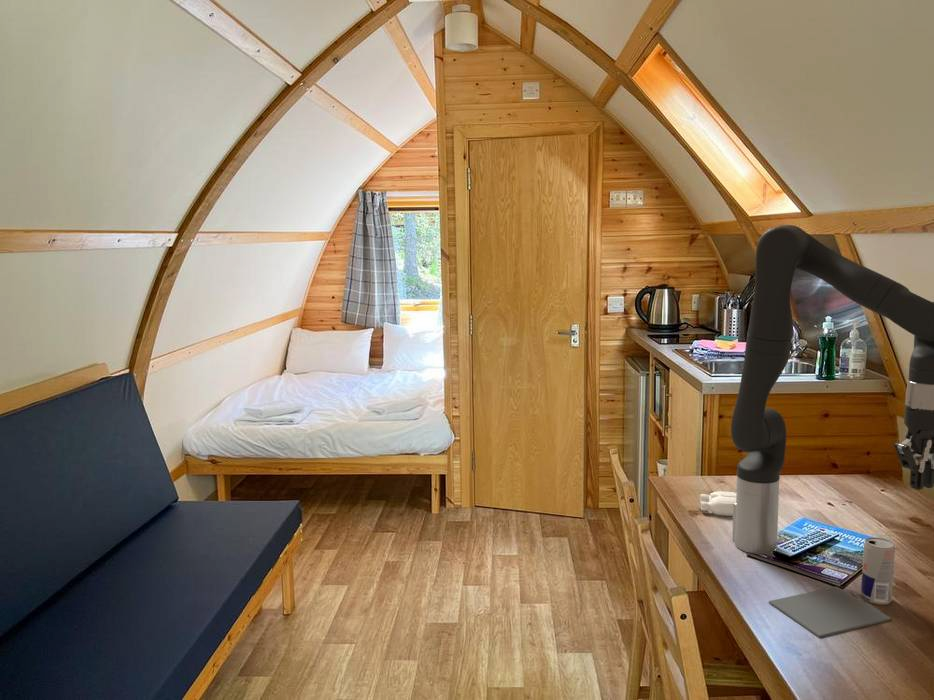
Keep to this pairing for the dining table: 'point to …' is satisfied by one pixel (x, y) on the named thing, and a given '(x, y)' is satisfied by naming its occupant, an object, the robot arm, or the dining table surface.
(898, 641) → the dining table surface
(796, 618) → the rubber mat
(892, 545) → the energy drink
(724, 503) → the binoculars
